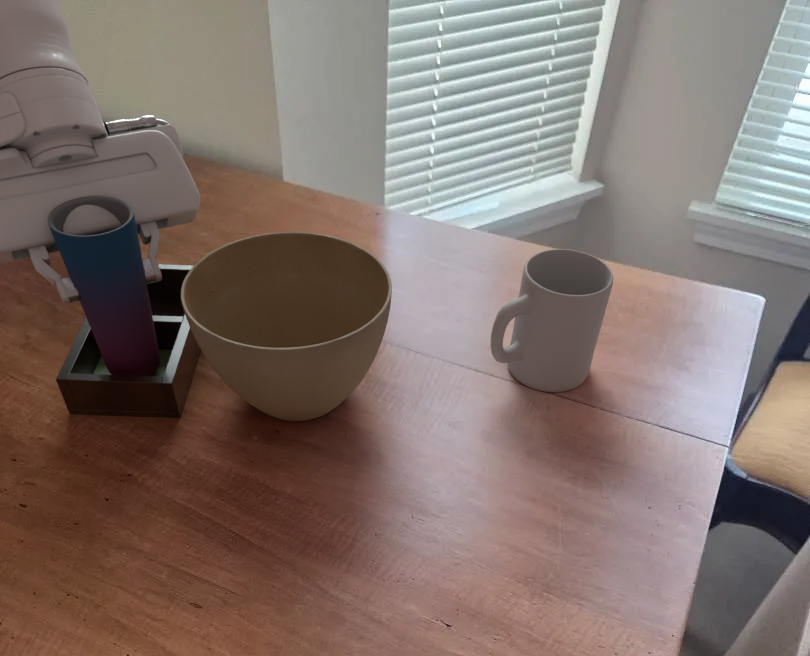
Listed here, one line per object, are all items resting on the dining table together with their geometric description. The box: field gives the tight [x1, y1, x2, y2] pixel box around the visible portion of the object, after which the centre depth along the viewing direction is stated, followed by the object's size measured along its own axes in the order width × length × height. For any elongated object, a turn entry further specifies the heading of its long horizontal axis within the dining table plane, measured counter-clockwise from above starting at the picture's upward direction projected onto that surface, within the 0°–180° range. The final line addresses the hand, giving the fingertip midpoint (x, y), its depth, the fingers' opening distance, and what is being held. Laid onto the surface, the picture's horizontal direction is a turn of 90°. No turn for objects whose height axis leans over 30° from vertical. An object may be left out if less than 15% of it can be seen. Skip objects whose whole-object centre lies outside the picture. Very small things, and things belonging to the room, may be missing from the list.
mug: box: [490, 248, 614, 393], centre depth 74 cm, size 12×8×11 cm
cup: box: [47, 196, 160, 376], centre depth 68 cm, size 7×7×15 cm
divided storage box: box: [55, 263, 202, 419], centre depth 76 cm, size 10×20×4 cm, turn 179°
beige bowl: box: [181, 231, 393, 422], centre depth 70 cm, size 18×18×12 cm
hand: (113, 291), depth 67 cm, fingers closed on cup, 6 cm apart
